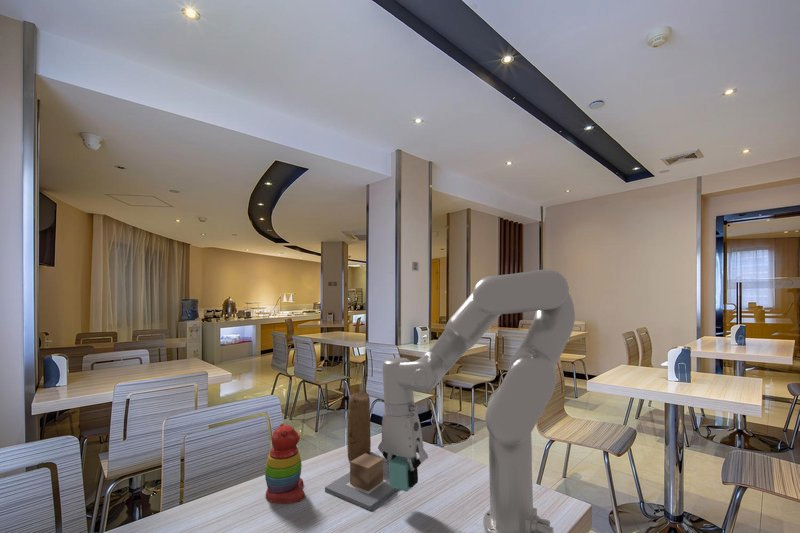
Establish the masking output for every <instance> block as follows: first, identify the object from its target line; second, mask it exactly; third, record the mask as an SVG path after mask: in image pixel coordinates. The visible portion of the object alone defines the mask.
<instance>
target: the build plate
mask: <svg viewBox="0 0 800 533" xmlns="http://www.w3.org/2000/svg"><path fill="white" fill-rule="evenodd" d="M398 490H399V489H396V488H393V487H390V477H389V472H388V471H387V472H386V471H384V470H383V481H382V482H381V483H380V484H378V485H377V486H375V487H374V488H372V489H371V490H370V491H366V490H363V489H361V488H358V487H356V486H353V485H351V484H350V471H349V472H347V473H346V474H344V475H342V476H341V477H339V478H338V479H336V480H334V481H333V482H331V483H329V484H328V485H326V486H325V487H324V492H327V493H328V494H331V495H334V496H336V497H337V498H341V499H343V500H345V501H346V502H349V503H352V504H353V505H356V506H359V507H362V508H363V509H366V510H368V511H372V510H373V509H375V508H376V507H377V506H379V505H380V504H381V503H382V502H383V501H385V500H386V499H387V498H389V497H390V496H392V495H393V494H394V493H395V492H397V491H398Z"/></svg>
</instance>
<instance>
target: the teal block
mask: <svg viewBox="0 0 800 533" xmlns="http://www.w3.org/2000/svg"><path fill="white" fill-rule="evenodd" d="M412 460H413V459H412ZM413 463H414V462H413ZM408 470H410V469H409V465H408V461H407V458H405V457H401V456H396V457H395V458H394V459H392V460H391V461H389V465H388V473H389V477H390V487H393V488H396V489H398V490H399V491H403V492H406V493H407V492H408V491H409V490H411V489H412V488H410V487H409V481H408ZM416 484H418V482H417V483H416Z"/></svg>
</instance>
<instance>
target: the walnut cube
mask: <svg viewBox="0 0 800 533" xmlns="http://www.w3.org/2000/svg"><path fill="white" fill-rule="evenodd" d="M383 471H384V458H381V457H378V456H375V455H373V454H372V455H371V454H370V455H369V454H366V453H365V454H363V455H361V456H359V457H358V458H356V459H354V460H352V461H349V472H350V484H351V485H353V486H356V487H358V488H361V489H363V490H366V491H370V490H371V489H372V488H374V487H375V486H377V485H378V484H380V483H381V482H382V481H383Z"/></svg>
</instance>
